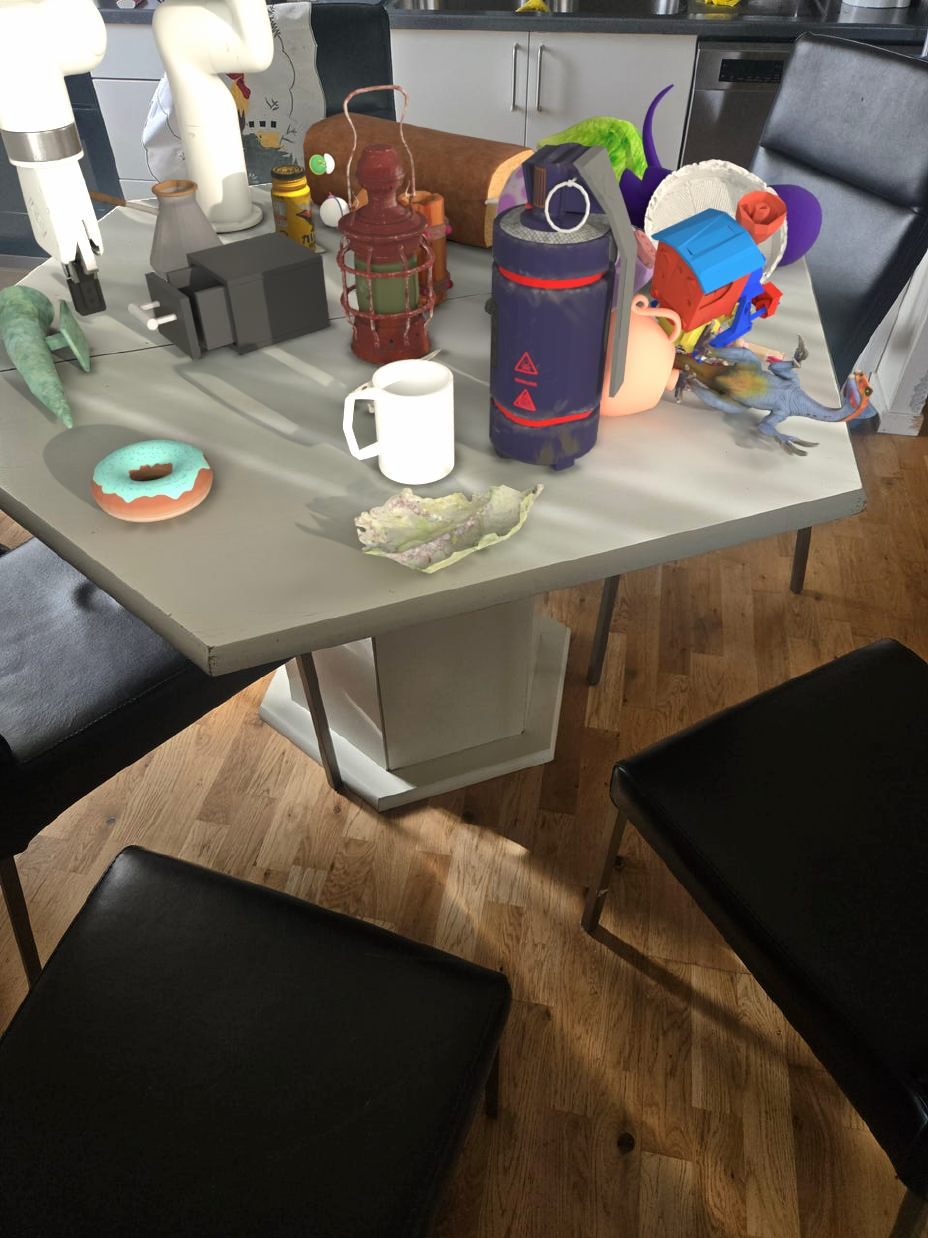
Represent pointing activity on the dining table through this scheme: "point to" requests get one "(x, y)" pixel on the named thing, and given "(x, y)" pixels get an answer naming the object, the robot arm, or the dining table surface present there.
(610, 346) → the sugar bowl
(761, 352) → the toy
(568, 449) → the canister
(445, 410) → the cup
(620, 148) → the lettuce
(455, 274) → the dining table surface
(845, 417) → the toy dinosaur
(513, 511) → the cabbage leaf
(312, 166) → the toy
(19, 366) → the decorative horn
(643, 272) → the toy
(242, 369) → the dining table surface
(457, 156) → the bread
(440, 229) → the mug
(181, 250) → the coffee pot
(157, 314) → the drawer
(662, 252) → the toy train
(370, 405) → the jawbone
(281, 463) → the dining table surface
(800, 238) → the toy
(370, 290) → the lantern
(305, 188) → the condiment
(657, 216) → the food container
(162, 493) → the donut
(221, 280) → the cabinet
